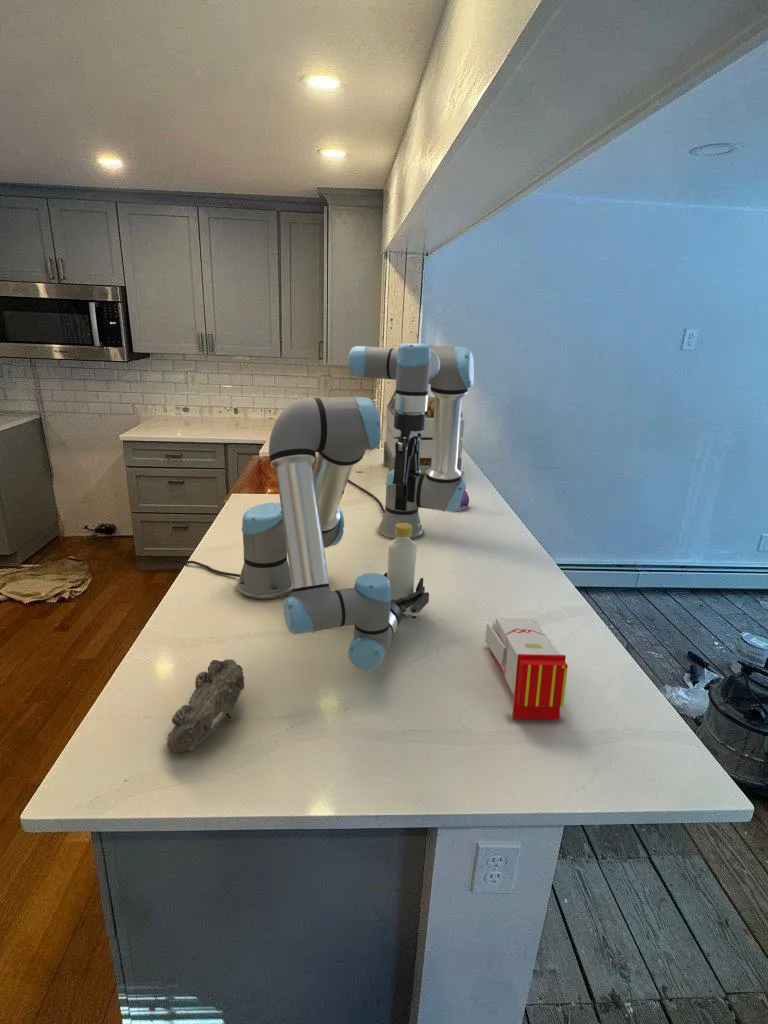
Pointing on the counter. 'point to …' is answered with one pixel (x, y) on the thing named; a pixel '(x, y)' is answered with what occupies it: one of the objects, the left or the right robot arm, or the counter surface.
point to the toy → (529, 667)
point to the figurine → (463, 498)
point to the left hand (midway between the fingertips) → (404, 579)
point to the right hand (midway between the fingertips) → (405, 505)
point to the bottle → (401, 567)
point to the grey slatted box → (426, 434)
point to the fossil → (206, 705)
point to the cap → (403, 530)
